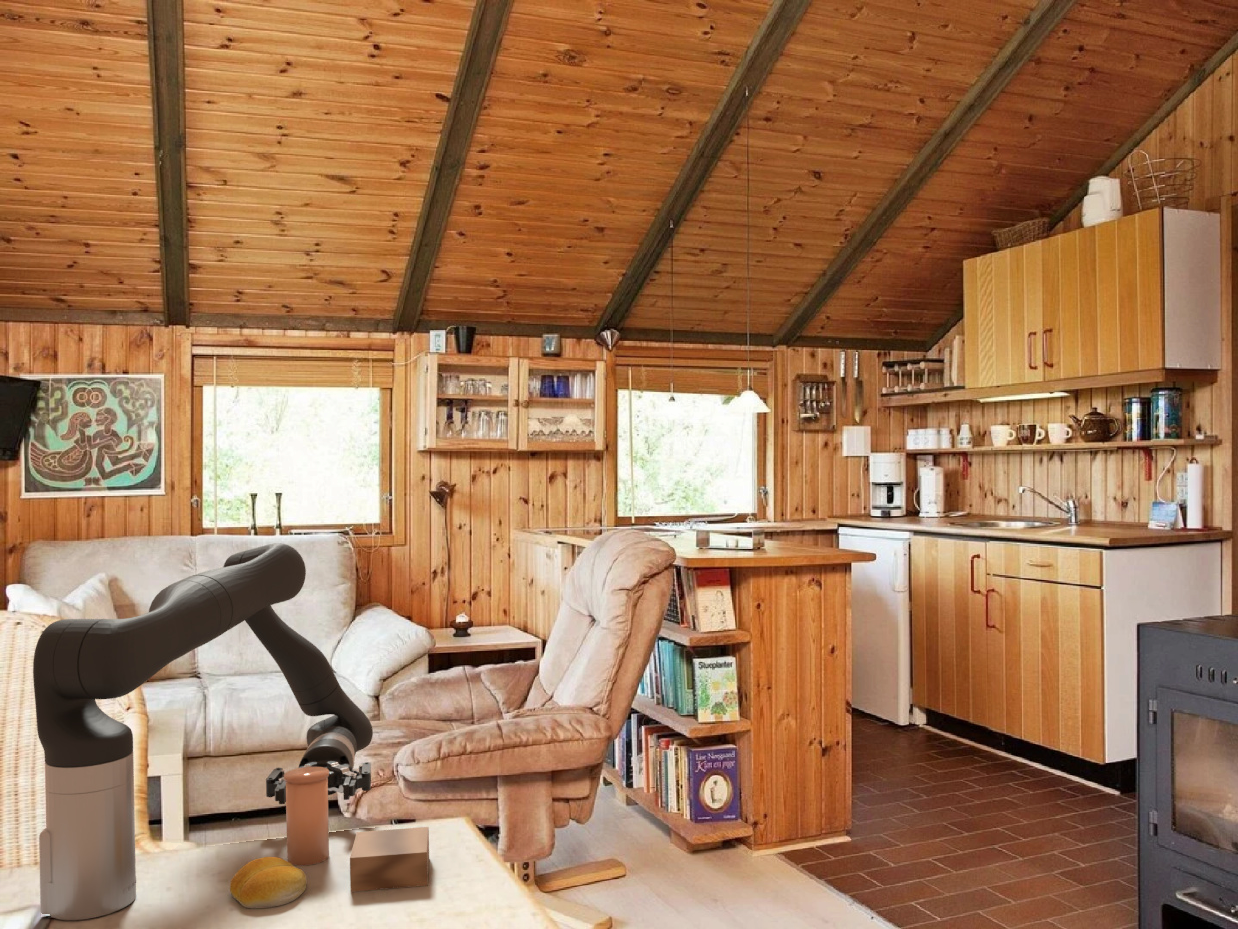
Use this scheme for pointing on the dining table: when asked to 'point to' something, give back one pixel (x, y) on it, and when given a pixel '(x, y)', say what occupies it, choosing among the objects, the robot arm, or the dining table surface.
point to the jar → (307, 815)
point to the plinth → (390, 859)
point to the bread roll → (267, 883)
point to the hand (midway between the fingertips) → (314, 795)
